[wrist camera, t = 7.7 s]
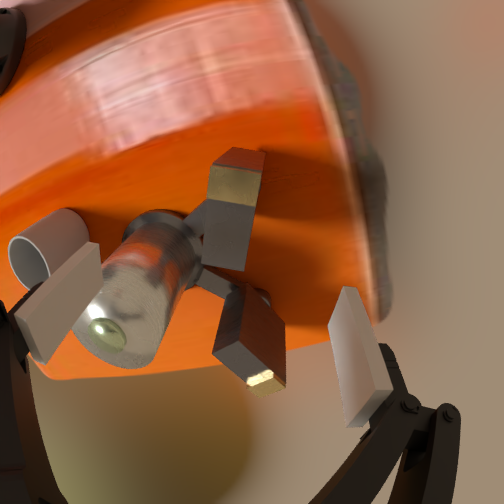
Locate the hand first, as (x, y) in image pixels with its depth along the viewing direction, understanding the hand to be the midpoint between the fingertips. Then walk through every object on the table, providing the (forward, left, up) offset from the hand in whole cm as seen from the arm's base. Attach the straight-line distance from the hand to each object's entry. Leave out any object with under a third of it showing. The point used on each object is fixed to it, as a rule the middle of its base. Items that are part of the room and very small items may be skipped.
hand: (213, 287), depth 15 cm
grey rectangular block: (-2, 0, -16) cm, 16 cm away
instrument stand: (+5, -9, -16) cm, 19 cm away
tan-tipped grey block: (+12, 0, -16) cm, 20 cm away
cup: (+3, -23, -16) cm, 28 cm away
